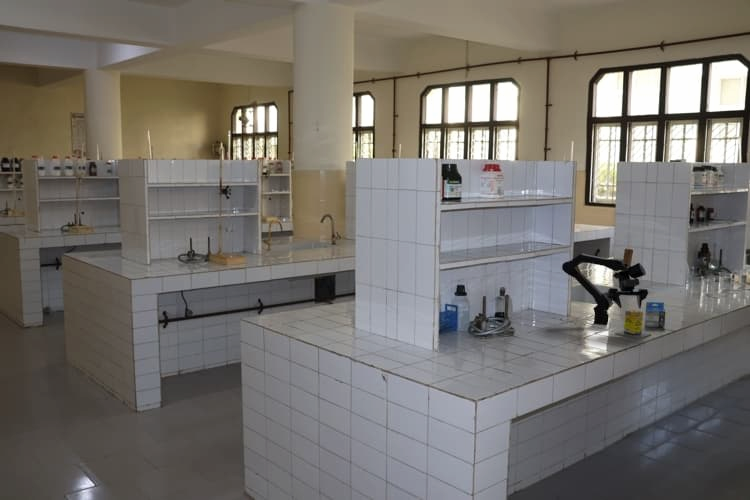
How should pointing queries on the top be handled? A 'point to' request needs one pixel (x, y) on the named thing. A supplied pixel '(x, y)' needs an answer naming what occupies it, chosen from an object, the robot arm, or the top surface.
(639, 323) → the supplement box
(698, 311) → the top surface
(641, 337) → the mat
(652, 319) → the label tape box
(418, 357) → the top surface
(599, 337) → the top surface
